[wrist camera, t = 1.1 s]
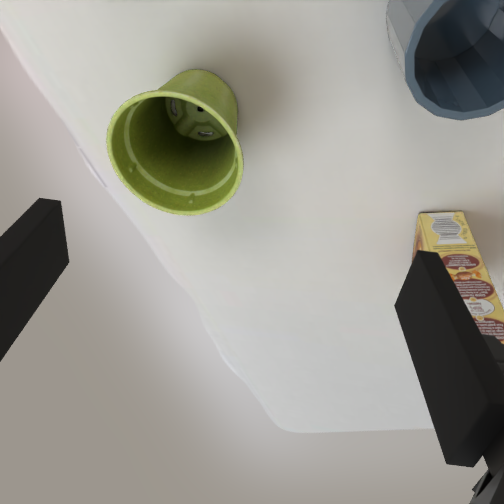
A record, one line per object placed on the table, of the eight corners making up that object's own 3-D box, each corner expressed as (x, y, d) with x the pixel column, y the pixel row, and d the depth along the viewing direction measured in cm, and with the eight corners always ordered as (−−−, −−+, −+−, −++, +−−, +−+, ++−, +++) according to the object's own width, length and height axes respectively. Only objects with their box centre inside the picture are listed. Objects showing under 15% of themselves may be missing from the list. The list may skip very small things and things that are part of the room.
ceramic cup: (410, -71, 26) (440, -47, 20) (529, -49, 26) (598, -17, 20) (371, 54, 31) (385, 107, 25) (471, 72, 32) (511, 130, 25)
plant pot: (160, 159, 40) (130, 217, 33) (129, 50, 33) (85, 97, 27) (262, 154, 38) (250, 214, 32) (249, 40, 32) (232, 86, 25)
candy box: (416, 211, 40) (453, 349, 29) (465, 208, 39) (523, 350, 28) (408, 278, 46) (436, 415, 35) (451, 277, 45) (494, 417, 34)
